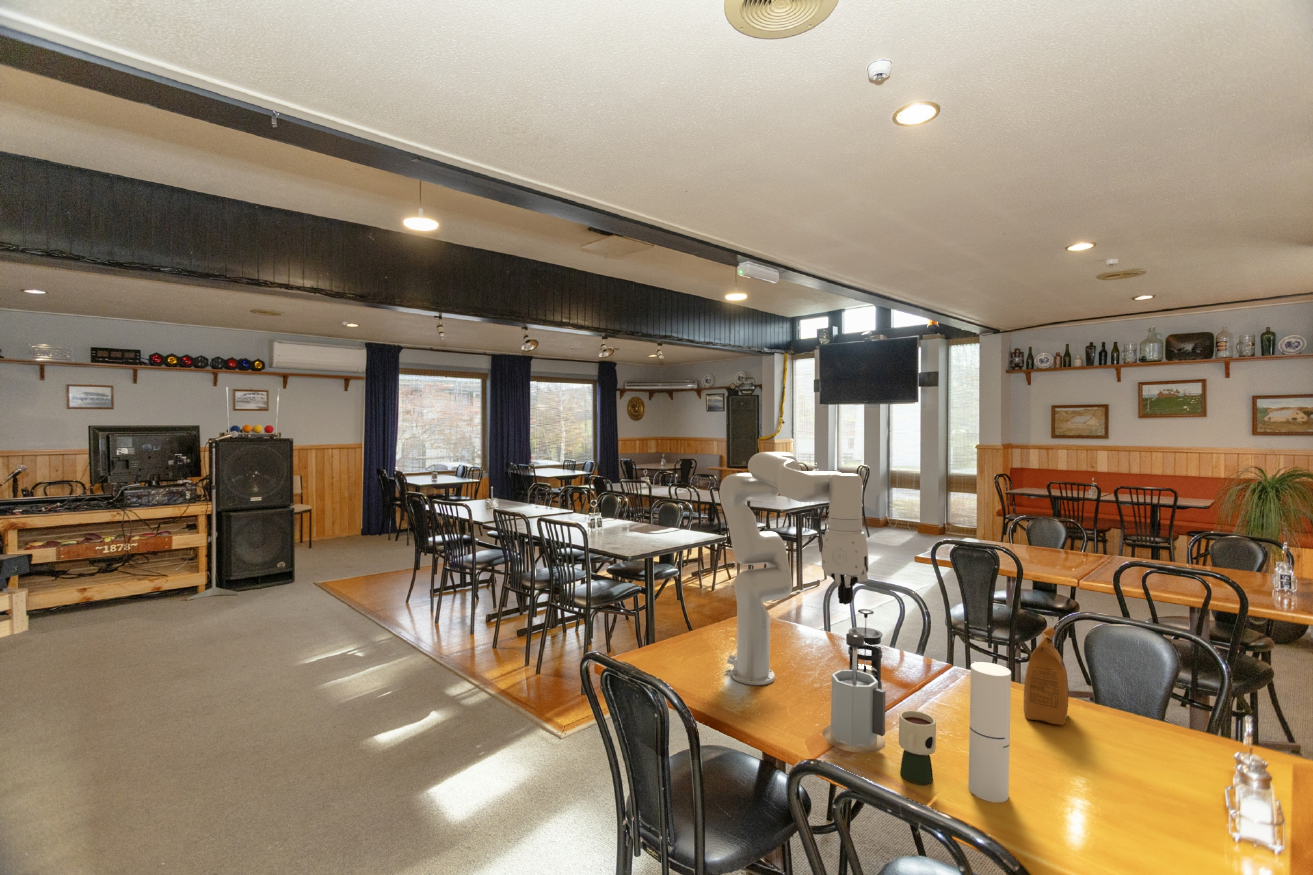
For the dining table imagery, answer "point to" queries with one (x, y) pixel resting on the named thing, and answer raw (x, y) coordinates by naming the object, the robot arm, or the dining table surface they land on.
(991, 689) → the cylindrical container
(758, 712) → the dining table surface
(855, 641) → the plunger
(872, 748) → the trivet
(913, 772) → the character mug
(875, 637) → the french press
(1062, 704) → the coffee package
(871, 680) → the carafe
